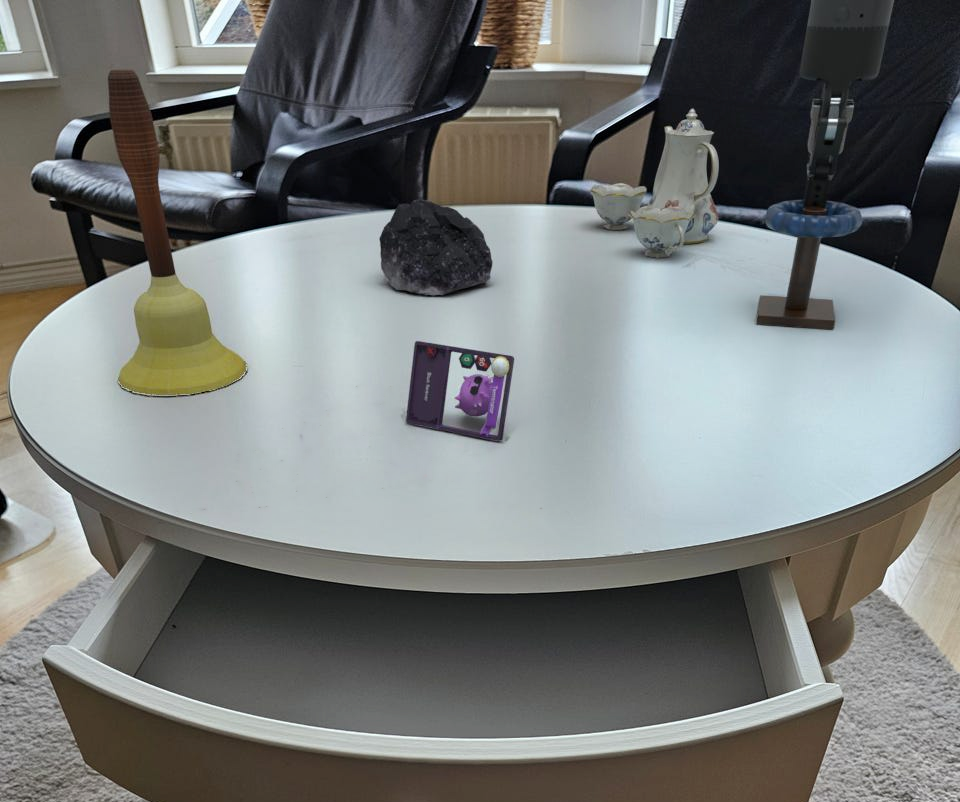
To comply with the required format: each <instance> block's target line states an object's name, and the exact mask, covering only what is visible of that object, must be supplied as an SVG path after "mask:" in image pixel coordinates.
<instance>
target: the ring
mask: <svg viewBox="0 0 960 802" xmlns="http://www.w3.org/2000/svg"><path fill="white" fill-rule="evenodd" d="M803 205H804V199H794V200H784V201H781V202H778V203H775V204H772V205H770V206H769V207H768V208H767V210H766V211H765V219H764V222H765V225H766V227H767V228H769V230H770V229H771V230H773V231H775V232H778V233H779V234H782V235H783V234H784V235H788V236H794V237H798V236H799V237H817V238H821V239H822V238H823V239H824V238H825V239H826V238H835V237H844V236H847V235H849V234H852V233H854V232H856V231H858V230H859V229H860V228H861V227H862V225H863V217H862V213H861V211H860V209H859V208H857V207H856V206H852V205H850V204H847V203H844V202H838V201H832V200H827V201H826V206H825V209H827V211H826V216H812V215H802V210H803Z"/></svg>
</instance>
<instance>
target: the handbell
mask: <svg viewBox="0 0 960 802" xmlns="http://www.w3.org/2000/svg"><path fill="white" fill-rule="evenodd" d="M107 86H108V110H109V111H108V112H109V121H110V124H111V130H112V134H113V140H114V144H115V148H116V153H117V157H118V160H119V162H120V164H121V166H122V169H123V170H124V172H125V175H126V176H127V178H128V181H129V183H130V185H131V189H132V193H133V196H134V201H135V207H136V211H137V215H138V220H139V225H140V229H141V234H142V239H143V243H144V248H145V253H146V257H147V258H146V259H147V262H148V267H149V272H150V285H149V287H148V289H147V291H145V292H143V293H141V294H140V295H139V296H138V297H137V299H136V301H135V304H134V307H133V314H134V320H135V327H136V331H137V337H138V341H139V343H138V346H137V348H136V350H135V352H134V354H133V356H132V357H131V358H129V360H128V361H127V362H126V363H125V364H124V366H123V367H121V369H120V372H119V375H118V378H117V382H118V381H119V382H120V384H121V385H122V387H124V388H127V389H129V390H131V391H134V392H139V393H145V394H151V395H152V394H154V395H155V394H156V395H176V394H177V395H180V394H192V393H197V392H198V393H199V392H204V391H209V390H213V389H217V388H219V387H222V386H226V385H228V384H230V383H232V382H233V381H235V380H237V379H239V378H240V377H241V376H242V375H243V374H244V372H246V367H247V366H246V364H247V362H246V360H245V359H244V358H242V357H241V355H240V354H238V353H237V352H235V351H233V350H231V349H230V348H228V347H227V346H225V345H223V343H221V341H219V339H218V338H217V337H216V336H215V334H214V333H213V330H212V329H213V328H212V324H211V323H212V322H211V318H210V314H209V310H208V307H207V303H206V301H205V299H204V297H202V296H201V295H200V294H199V293H198V292H197V291H196V290H194V289H192V288H189V287H186V286H185V285H184V284H183V283H182V282H181V281H180V279H179V277H178V275H177V273H176V268H175V264H174V258H173V254H172V247H171V243H170V238H169V231H168V229H167V228H168V227H167V222H166V218H165V213H164V207H163V201H162V198H161V193H160V184H159V174H160V161H161V160H160V159H161V158H160V149H159V143H158V138H157V133H156V129H155V125H154V119H153V114H152V111H151V109H150V105H149V103H148V101H147V98H146V96H145V92H144V90H143V88H142V85H141V82H140V79H139V76H138V74H137V73H136V71H134V70H133V69H112V70H110V71H108V75H107ZM226 387H227V386H226ZM217 390H218V389H217Z"/></svg>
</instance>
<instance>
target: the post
mask: <svg viewBox="0 0 960 802" xmlns="http://www.w3.org/2000/svg"><path fill="white" fill-rule="evenodd" d="M826 211H827V209H825V208H822V207H805V208H803V210H802V215H812V216H826ZM796 237H797V239H796V244H795V248H794V254H793V258H792V265H791V270H790V276H789V282H788V287H787V293H786V296H781V295H780V296H779V295H767V294H766V295H765V294H764V295H763V294H760V295H759V298H758V303H757V304H758V305H757V313H756V322H755V324H756V325H762V326H774V327H775V326H776V327H788V328H789V327H790V328H805V329H819V330H831V331H833V330H834V328H835V324H836V316H835V307H834V300H833V299H828V298H813V297H812V298H811V292H812V287H813V283H814V277H815V272H816V267H817V261H818V256H819V251H820V247H821V240H822V238H817V237H799V236H796Z"/></svg>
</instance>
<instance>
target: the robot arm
mask: <svg viewBox="0 0 960 802" xmlns="http://www.w3.org/2000/svg"><path fill="white" fill-rule="evenodd" d="M894 2H895V0H811V2H810V8H809V14H808V21H807V26H806V31H805V39H804V43H803V50H802V56H801V61H800V67H799V76H800V77H801V79H804V80H808V81H820V82H821V81H822V82H823V87H822V91H821V97H820V98H813V99H812V102H811V108H810V114H809V115H810V121H811V122H810V128H809V133H808V137H807V138H808V139H807V151H808V153H809V154H808V156H807V161H808V163H807V164H806V171H807V172H806V175H807V178H806V184H805V189H804V194H803V200H804V205H803V208H805V207H822V208H825V206H826V201H828V197H829V196H828V195H829V191H830V186H831V180H833V178H834V176H835V174H836V173H837V170H838V166H837V164H838V160H839V155H840V154H842V153H843V151H844V147H845V142H846V136H847V131H848V127H849V123H850V122H851V121H852V119H853V113H854V108H855V102H854V99H849V92H850V87H851V85H852V84H853V83H854V82H864V81H865V82H866V81H871V80H875V79H876V78H877V77H878V75H879V73H880V69H881V64H882V59H883V55H884V50H885V46H886V42H887V41H886V40H887V36H888V31H889V26H890V21H891V18H892V17H891V16H892V11H893V7H894Z"/></svg>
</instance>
